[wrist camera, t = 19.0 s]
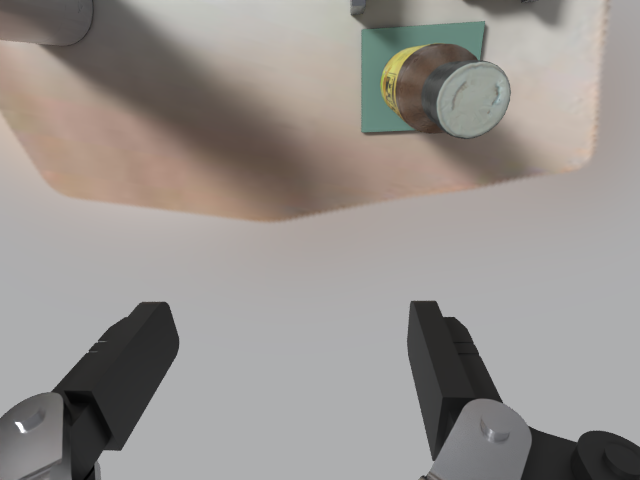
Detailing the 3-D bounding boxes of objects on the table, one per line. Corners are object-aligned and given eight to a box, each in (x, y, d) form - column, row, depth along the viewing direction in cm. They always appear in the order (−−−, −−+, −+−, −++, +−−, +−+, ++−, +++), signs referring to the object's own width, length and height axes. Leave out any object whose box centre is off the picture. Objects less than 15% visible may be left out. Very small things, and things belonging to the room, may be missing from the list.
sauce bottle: (366, 79, 36) (387, 88, 18) (416, 33, 34) (493, -6, 16) (402, 126, 38) (451, 176, 20) (451, 86, 36) (554, 102, 18)
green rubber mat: (361, 131, 39) (361, 132, 39) (361, 30, 35) (361, 29, 34) (468, 126, 38) (470, 127, 38) (482, 22, 34) (485, 21, 33)
